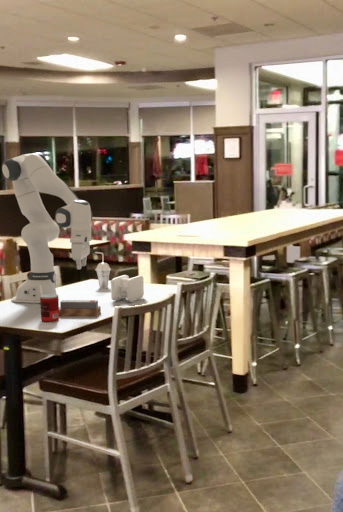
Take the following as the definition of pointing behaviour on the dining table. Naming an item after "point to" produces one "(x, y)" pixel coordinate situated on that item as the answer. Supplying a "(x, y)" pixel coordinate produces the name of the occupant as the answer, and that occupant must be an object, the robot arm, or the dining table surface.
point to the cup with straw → (103, 272)
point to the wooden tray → (80, 312)
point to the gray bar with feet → (79, 304)
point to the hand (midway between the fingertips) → (81, 267)
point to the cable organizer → (127, 288)
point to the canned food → (49, 307)
